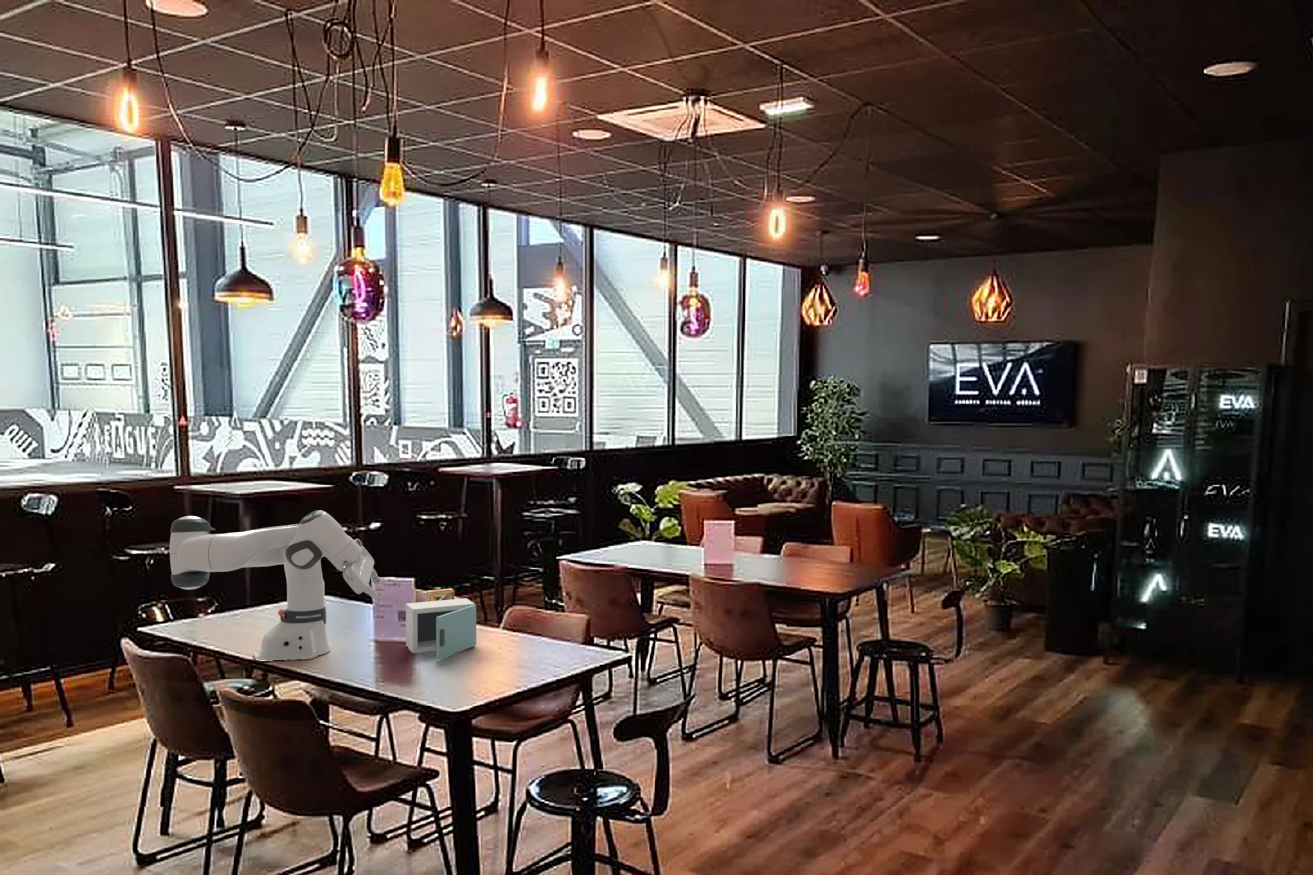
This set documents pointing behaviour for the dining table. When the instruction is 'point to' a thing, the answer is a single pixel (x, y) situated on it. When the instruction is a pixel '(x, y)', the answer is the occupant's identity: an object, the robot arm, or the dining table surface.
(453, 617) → the door
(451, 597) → the candy box
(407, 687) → the dining table surface
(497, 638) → the dining table surface
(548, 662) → the dining table surface
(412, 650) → the case
